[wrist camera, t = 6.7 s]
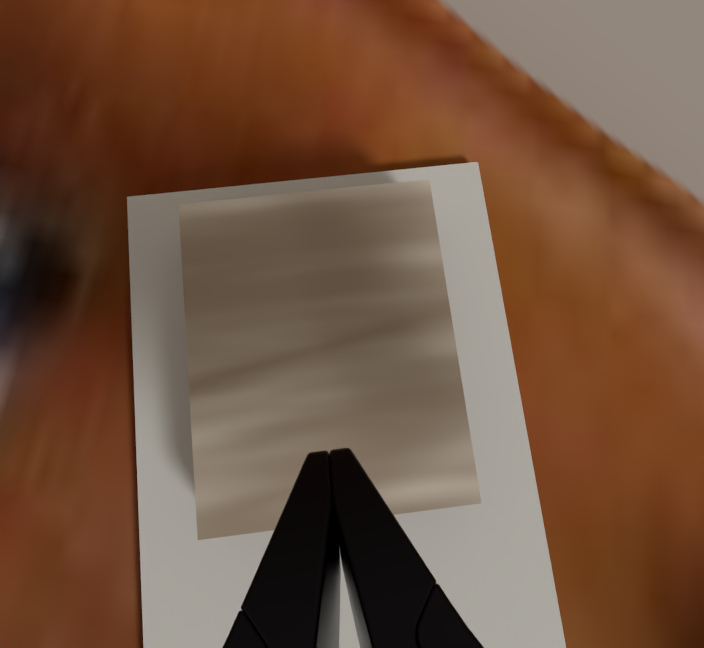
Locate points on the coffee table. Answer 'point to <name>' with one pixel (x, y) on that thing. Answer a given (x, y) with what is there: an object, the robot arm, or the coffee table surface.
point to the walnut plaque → (320, 351)
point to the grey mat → (421, 527)
